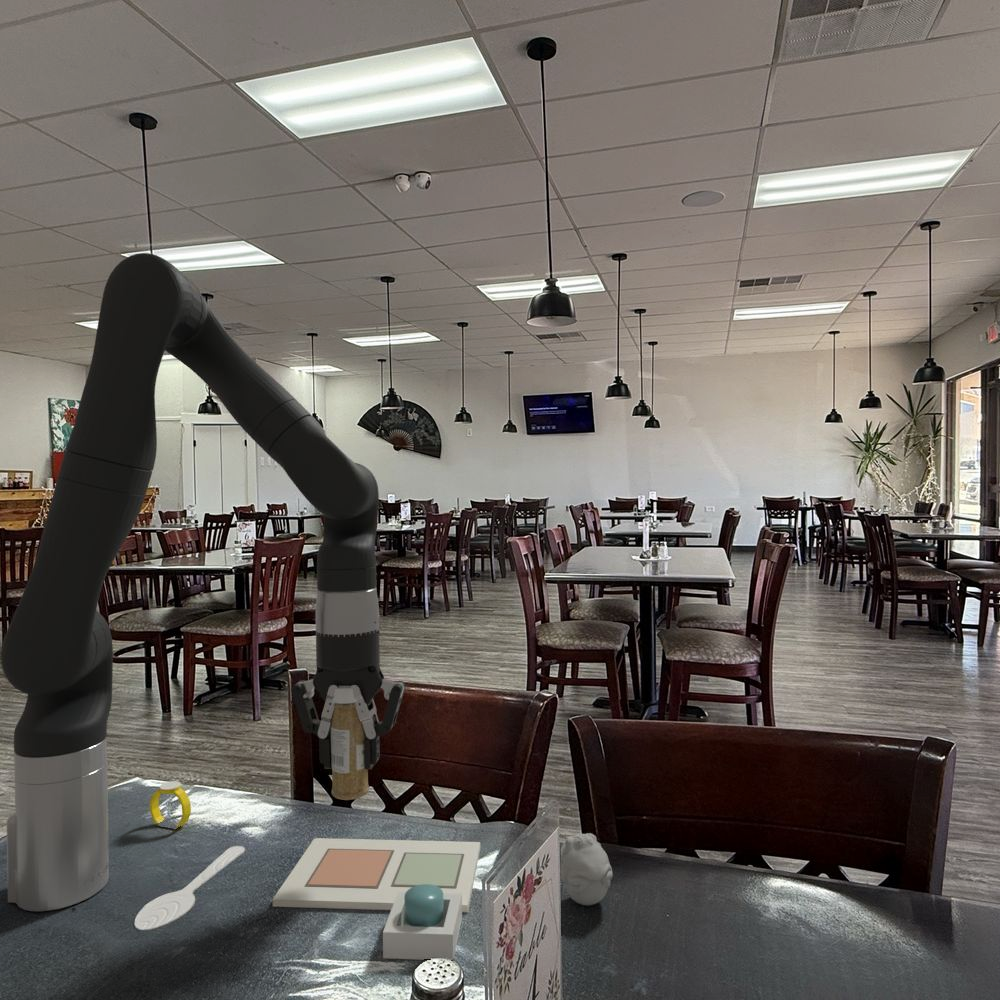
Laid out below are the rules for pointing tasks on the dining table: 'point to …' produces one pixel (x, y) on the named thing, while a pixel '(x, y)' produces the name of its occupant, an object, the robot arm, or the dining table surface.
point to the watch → (177, 791)
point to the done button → (423, 905)
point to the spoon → (181, 896)
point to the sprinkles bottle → (347, 747)
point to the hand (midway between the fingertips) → (350, 766)
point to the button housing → (422, 932)
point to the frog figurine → (585, 869)
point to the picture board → (377, 872)
